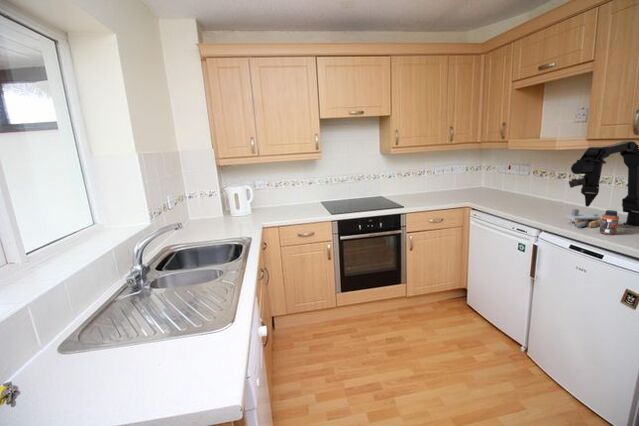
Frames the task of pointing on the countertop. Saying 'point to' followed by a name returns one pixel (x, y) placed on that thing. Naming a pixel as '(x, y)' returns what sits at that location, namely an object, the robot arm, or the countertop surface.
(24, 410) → the countertop surface
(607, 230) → the supplement bottle
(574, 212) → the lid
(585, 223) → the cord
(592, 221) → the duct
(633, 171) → the robot arm
